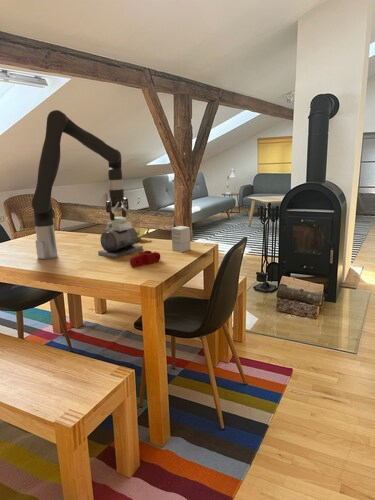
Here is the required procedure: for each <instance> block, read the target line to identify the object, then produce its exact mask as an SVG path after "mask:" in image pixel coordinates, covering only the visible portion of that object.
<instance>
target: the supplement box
mask: <svg viewBox="0 0 375 500" xmlns="http://www.w3.org/2000/svg"><path fill="white" fill-rule="evenodd" d="M171 245H172V246H171V247H172V251H174V252H179V253H183V252H186V251H190V250H192V249H191V248H192V247H191V228H190V227H189V226H184V225H179V226H178V225H177V226H175V227H171Z"/></svg>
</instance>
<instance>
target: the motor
mask: <svg viewBox="0 0 375 500" xmlns="http://www.w3.org/2000/svg"><path fill="white" fill-rule="evenodd" d="M118 225H119V228H114V227H112V224H111V221H110V222H106V227H105V228H104V229H105V230H107V231H105V232H103V233H102V234H101V236H100V244H101V247H102V249H101V250H98V251H97V254H98V255H99V256H102V257H108V258H115V259H119V258H122V257H125V256H128V255H131V254H133V253H137V252H139V251H142V250H144V248H143V247H144V246H143V245H138V244H137V242H138V241H137V239H138V236H137V232H136V231H137V230H136V229H135V228H134V227H133V225H132V222H131V221H126V223H122V224H118Z"/></svg>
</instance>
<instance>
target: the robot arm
mask: <svg viewBox="0 0 375 500" xmlns="http://www.w3.org/2000/svg"><path fill="white" fill-rule="evenodd" d="M45 127H46V128H45V137H44V141H43V145H42V149H41V154H40V158H39V164H38V169H37V179H36V180H37V181H36V182H37V183H36V186H35V187H36V188H35V190H34V193H33V197H32V199H31V208H32V209H33V214H34V215H33V216H34V217H33V218H34V220H33V221H34V228H35V234H36V235H35V236H36V240H35V248H36V249H35V250H36V256H37V259H41V260H48V259H54V258H57V257H58V249H57V241H56V240H57V239H56V234H55V223H54V212H53V204H52V200H51V199H52V189H53V186H54V184H55V180H56V177H57V174H58V171H59V169H60V167H59V166H60V161H61V139H62V135H63V134H66V135H68V136H69V137H72V138H73V139H75V140H77V141H78V142H80V143H81V144H82V145H83V146H84V147H86V148H88V149H89V150H90V151H92V152H94V153H96V154H97V155H99V156H101V158H103V159H104V160H106V161H107V162H108V171H107V174H108V175H107V176H108V194H109V195H108V196H109V198H110V200H106V201H105V209H106V210H105V211H106V214H107V213H109V219H110V221H111V220H112V221H114V220H115V218H114V217H115V211H117V209H120V210H121V217H126V218H127V210H128V209H129V199H128V198H127V197H125V190H124V181H123V171H122V153H121V152H120V151H119V149H115V148H113V147H112V146H110V145H109V144H107V143H106V142H105V141H104V140H103V139H100V138H99V137H98V136H96V135H94V134H93V133H91V132H89V131H88V130H86V129H84V128H82V127H81V126H79V125H77V124H76V123H75V122H74V121H72V119H70V118H69V117H68V116H67V115H66V113H64V112H62V111H61V110H59V109H53V110H51V111H50V112H49V113H48V114H47V117H46V126H45Z"/></svg>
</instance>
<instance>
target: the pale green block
mask: <svg viewBox="0 0 375 500" xmlns="http://www.w3.org/2000/svg"><path fill="white" fill-rule="evenodd" d="M114 218H115V220H114V221H112V220H111V219H110V222H111V224H112V227H114V228H119V225H118V224H122V223H126V222H127V216H126V217H122V216H114Z"/></svg>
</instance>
